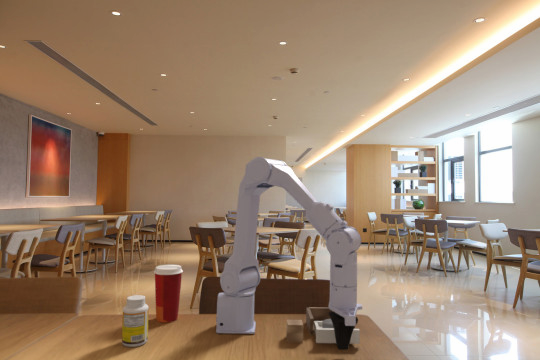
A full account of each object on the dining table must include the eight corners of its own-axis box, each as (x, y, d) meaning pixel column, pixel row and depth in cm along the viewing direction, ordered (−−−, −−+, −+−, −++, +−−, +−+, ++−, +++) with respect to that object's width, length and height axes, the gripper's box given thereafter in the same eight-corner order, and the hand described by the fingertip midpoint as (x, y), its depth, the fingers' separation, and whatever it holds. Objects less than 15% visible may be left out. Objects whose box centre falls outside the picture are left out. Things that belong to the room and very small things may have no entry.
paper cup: (185, 315, 104) (186, 264, 104) (175, 324, 96) (177, 270, 97) (158, 313, 105) (159, 263, 105) (146, 323, 97) (148, 269, 98)
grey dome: (320, 327, 92) (320, 318, 92) (342, 326, 93) (342, 318, 93) (324, 335, 87) (324, 327, 87) (348, 335, 87) (348, 326, 87)
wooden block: (287, 342, 87) (287, 324, 87) (286, 336, 90) (286, 319, 90) (302, 342, 87) (303, 325, 87) (301, 336, 90) (301, 319, 90)
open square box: (310, 335, 91) (310, 318, 91) (306, 322, 100) (306, 307, 101) (354, 335, 91) (355, 319, 92) (346, 322, 101) (346, 307, 101)
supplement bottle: (133, 336, 88) (135, 292, 89) (152, 340, 86) (154, 295, 86) (115, 345, 83) (117, 298, 83) (135, 349, 81) (137, 302, 81)
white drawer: (316, 344, 84) (317, 330, 84) (311, 328, 94) (311, 316, 94) (360, 345, 84) (360, 331, 84) (350, 328, 94) (350, 316, 94)
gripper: (371, 293, 73) (370, 364, 72) (354, 276, 87) (353, 335, 87) (335, 292, 73) (334, 363, 72) (323, 276, 87) (323, 335, 87)
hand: (342, 348), depth 80 cm, fingers closed
